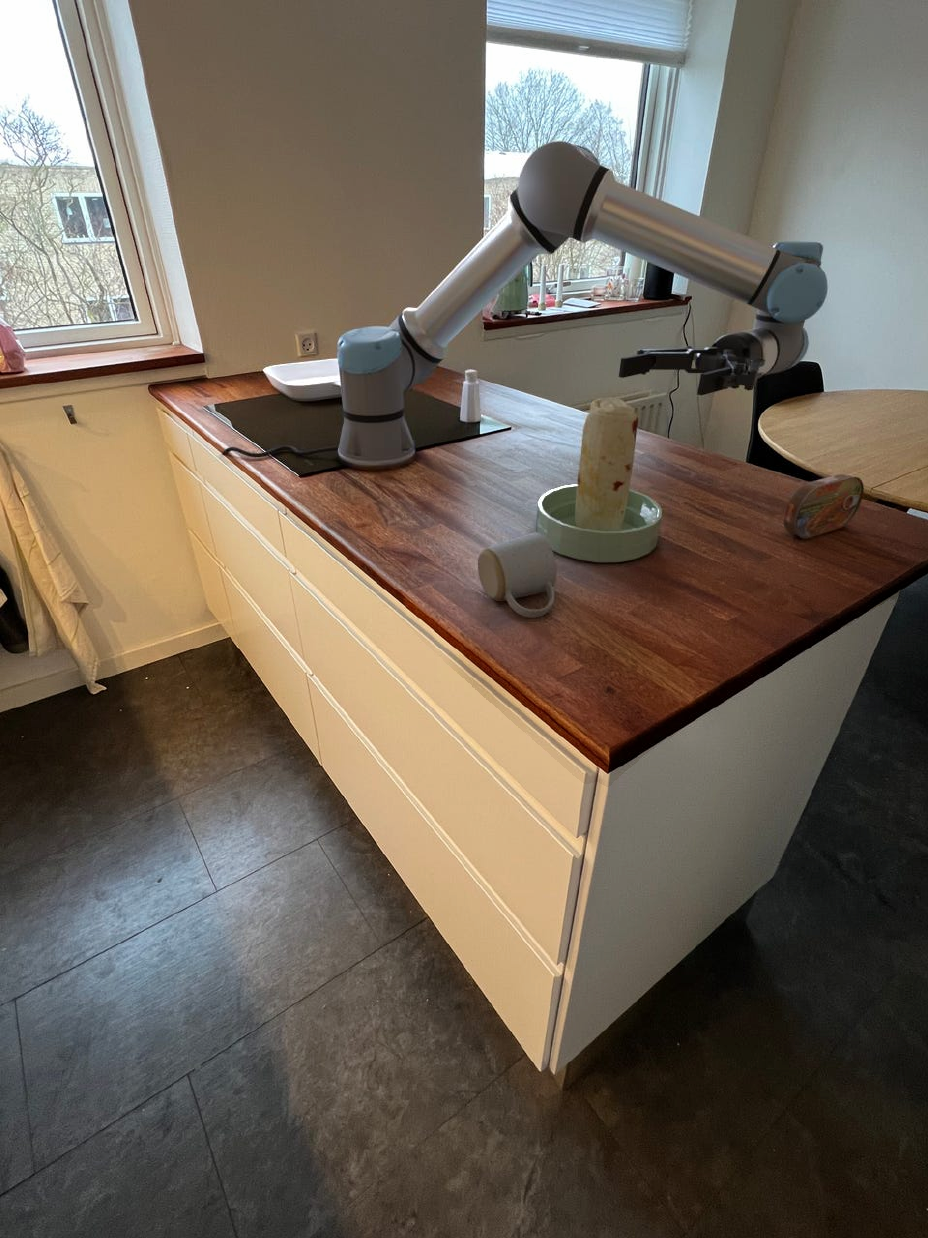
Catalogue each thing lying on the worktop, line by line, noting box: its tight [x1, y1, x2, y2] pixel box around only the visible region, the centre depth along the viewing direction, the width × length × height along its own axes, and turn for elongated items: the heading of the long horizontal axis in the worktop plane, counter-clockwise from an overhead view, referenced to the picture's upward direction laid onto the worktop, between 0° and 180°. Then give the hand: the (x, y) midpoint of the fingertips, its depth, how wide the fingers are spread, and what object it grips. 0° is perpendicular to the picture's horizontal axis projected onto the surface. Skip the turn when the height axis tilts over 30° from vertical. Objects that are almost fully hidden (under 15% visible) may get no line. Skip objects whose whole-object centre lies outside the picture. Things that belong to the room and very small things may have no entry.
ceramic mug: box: [477, 532, 558, 619], centre depth 80 cm, size 11×8×8 cm
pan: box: [262, 358, 342, 402], centre depth 168 cm, size 27×42×5 cm, turn 32°
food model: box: [575, 396, 639, 531], centre depth 92 cm, size 10×7×20 cm
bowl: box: [535, 483, 663, 563], centre depth 96 cm, size 18×18×5 cm
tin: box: [783, 473, 865, 540], centre depth 97 cm, size 15×3×8 cm, turn 117°
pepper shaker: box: [459, 369, 482, 423], centre depth 147 cm, size 5×5×11 cm
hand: (659, 375), depth 90 cm, fingers open, 13 cm apart
